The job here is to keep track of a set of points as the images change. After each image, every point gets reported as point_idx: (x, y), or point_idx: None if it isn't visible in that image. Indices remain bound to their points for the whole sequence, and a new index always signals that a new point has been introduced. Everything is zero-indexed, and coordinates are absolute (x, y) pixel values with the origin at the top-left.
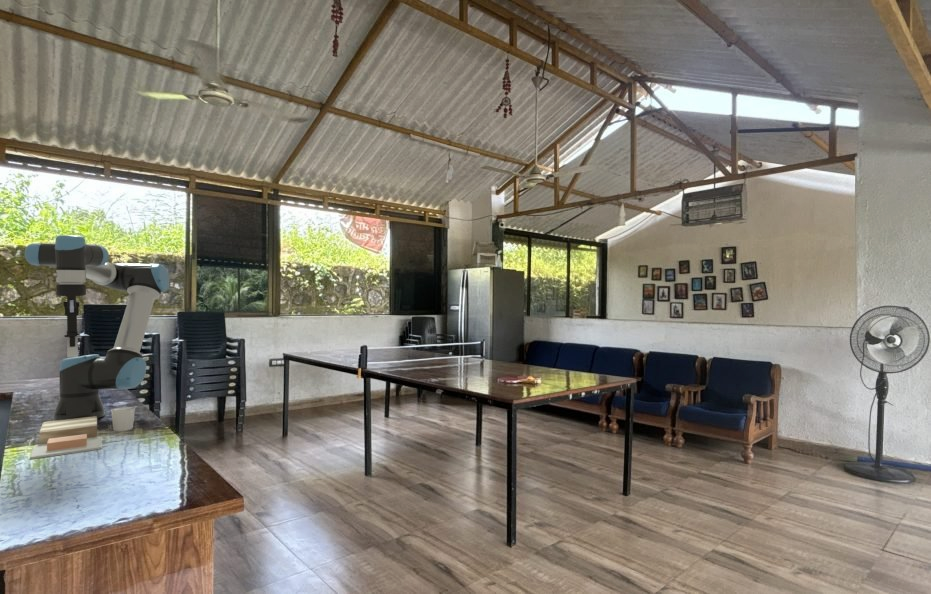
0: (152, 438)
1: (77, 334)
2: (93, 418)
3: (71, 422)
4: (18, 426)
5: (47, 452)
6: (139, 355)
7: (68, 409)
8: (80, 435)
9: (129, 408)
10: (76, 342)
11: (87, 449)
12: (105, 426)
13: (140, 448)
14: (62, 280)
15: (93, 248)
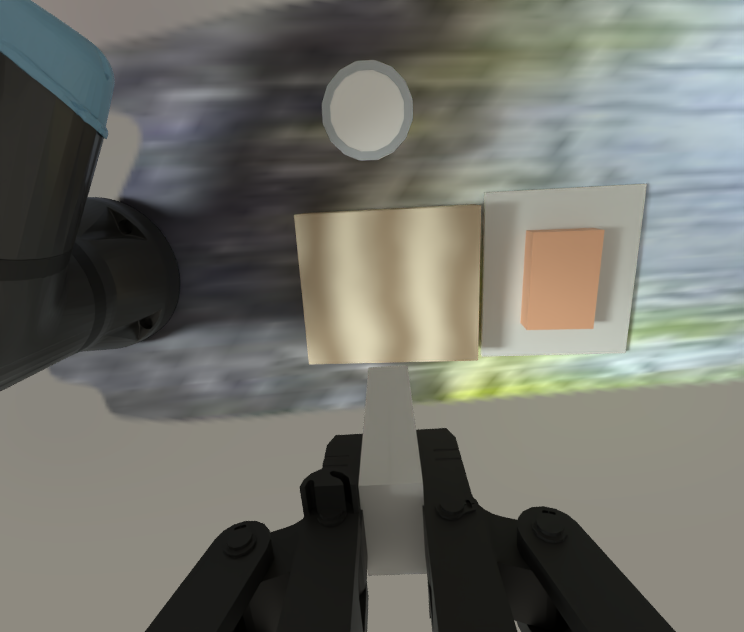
0: (609, 18)
1: (464, 505)
2: (336, 223)
3: (368, 287)
4: (165, 416)
5: (603, 319)
6: None
7: (144, 311)
8: (545, 249)
9: (375, 84)
10: (418, 444)
11: (640, 222)
12: (296, 186)
13: (734, 62)
14: None
15: None
